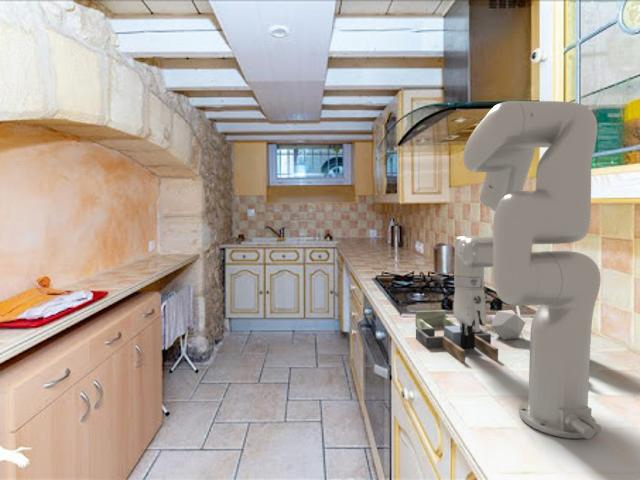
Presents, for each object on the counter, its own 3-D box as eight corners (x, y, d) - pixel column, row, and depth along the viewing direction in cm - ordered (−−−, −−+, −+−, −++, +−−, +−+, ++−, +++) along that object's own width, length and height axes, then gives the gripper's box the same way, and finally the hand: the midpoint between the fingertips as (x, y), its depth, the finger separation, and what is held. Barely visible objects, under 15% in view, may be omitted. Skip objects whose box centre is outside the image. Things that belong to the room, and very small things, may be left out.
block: (473, 349, 117) (473, 331, 116) (453, 350, 116) (453, 332, 115) (463, 342, 123) (463, 325, 122) (443, 343, 122) (444, 326, 121)
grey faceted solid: (511, 334, 132) (491, 308, 133) (535, 326, 125) (514, 299, 126) (500, 349, 126) (480, 322, 127) (525, 342, 119) (503, 314, 120)
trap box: (514, 359, 108) (514, 340, 108) (444, 363, 106) (444, 344, 106) (456, 324, 141) (457, 309, 141) (402, 326, 139) (402, 311, 138)
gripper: (497, 286, 105) (495, 357, 107) (468, 276, 120) (467, 339, 122) (468, 287, 104) (467, 359, 106) (443, 277, 119) (442, 340, 121)
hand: (467, 348), depth 114 cm, fingers closed
